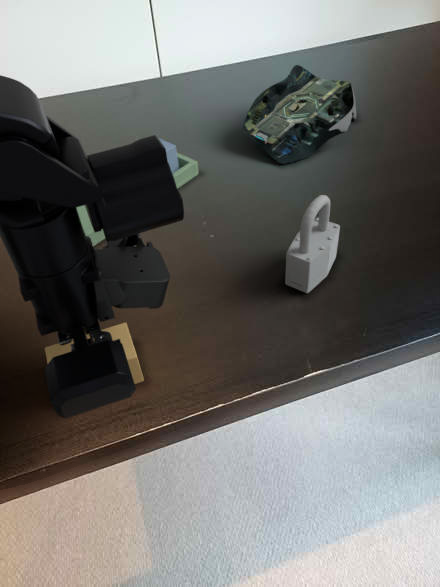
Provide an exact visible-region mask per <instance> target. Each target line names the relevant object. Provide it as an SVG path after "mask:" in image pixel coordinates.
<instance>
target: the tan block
mask: <svg viewBox="0 0 440 587" xmlns="http://www.w3.org/2000/svg"><path fill="white" fill-rule="evenodd" d="M101 330H102V331H107V332H109V333H110V334H111V336H112V339H113V341H114V340H117V339H120V341H121V343H122V345H123V348H124V351H125V354H126V357H127V361H128V364H129V367H130V370H131V374H132V377H133V380H134V383H135V385H137V384H140V383H143V382H145V378H144V376H143V372H142V367H141V365H140V362H139V358H138V355H137V352H136V348H135V345H134V343H133V342H134V341H133V339H132V336H131V333H130V330H129V326H128V323H127V322H123V323H119V324H116V325H113V326H109V327H106V328H102V329H101ZM89 338H90V336H89V334H87V339H89ZM93 339H94V338H93ZM71 340H72V342H70V343H69V344H66V345H60V344H59V342H58V343H55V344H51V345H48V346H45V347H44V351H45V357H46V363H47V364H48V363H49V362H50V361H51V359H52V358H53V357H55V356H58V355H62V354H65V353H68V352H71V344H73V343H74V341H73V339H71ZM47 364H46V365H47Z"/></svg>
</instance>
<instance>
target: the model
mask: <svg viewBox="0 0 440 587" xmlns="http://www.w3.org/2000/svg"><path fill="white" fill-rule="evenodd" d="M352 119H353V120H357V106H356V96H355V92H354V89H353V86H352V82H351V81H348V80H340V79H325V78H321V77H318V76H316V75H315V74H313V73H312V72H310V71H309V70H307V69H306V68H305V67H303V66H301V65H299V64H295V65H294V66H293V67H292V69H291V70H290V72H289V74H288V75H287V76H286V78H284V79H283V80H281V81H278V82H277V83H275V84H272V85H271V86H269V87H268V88H266V89H265V90H263V91H262V92H261V93H260V94H259V95H258V96H257V97H256V98H255V99H254V101H253V102H252V104H251V105H250V108H249V110H248V111H247V114H246V117H245V118H244V122H243V128H242V133H243V134H244V135H246V136H247V137H249V139H251V140H252V141H254V143H255V144H256V145H258V146H259V148H263V149H264V151H266V152H267V154H268V155H269V156H270V157H271V158H272V159H274V160H275V161H276V162H277V163H279V164H283V165H286V164H289V163H294V162H295V161H299V160H304V159H306V158H309V157H311V156H312V155H313V154H315V153H316V152H317V151H318V150H319V149H320V148H321V147H322V146H323V145H324V144H325V143H327V142H328V141H329V140H331V139H333V138H335V137H337V136H339V135H341V134H343V133H347V132H348V130H349V127H350V125H351V122H352Z"/></svg>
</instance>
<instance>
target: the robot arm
mask: <svg viewBox="0 0 440 587" xmlns="http://www.w3.org/2000/svg"><path fill="white" fill-rule="evenodd" d="M83 205H85V207H86V210H87V213H88V216H89V219H90V222H91V225H92V227H93V230H94V232H95V233H96V232H99V231H102V230H101V229H103V232H104V235H105V241H106V245H104V246H103V247H102V248H97V249H95V248H94V246H93V245H92V241H91V238H90V237H88V236H86V235H85V233H84V230H83V226H82V223H81V220H80V217H79V214H78V211H77V208H76V207H80V206H83ZM184 209H185V208H184V201H183V197H182V195H181V193H180V191H179V190H178V189H177V186H176V183H175V179H174V176H173V173H172V171H171V168H170V166H169V163H168V161H167V154H166V149H165V147H164V146H163V144H162V143H161V141H160V140H159V137H158V136H157V135H156V134H153V135H150V136H146V137H143V138H139V139H138V140H135V141H133V142H131V143H129V144H126V145H122V146H118V147H114V148H110V149H107V150H103V151H98V152H95V153H91V154H86V152H85V149H84V147H83V145H82V143H81V140H80V138H79V137H77V136H76V135H74V134H73V133H72V132H70V131H69V130H67V129H66V128H65V127H63V126H62V125H60V124H59V123H58V122H56V121H55V120H53V119H51V117H49V116H48V115H47V114H46V112H45V110H44V106H43V105H42V102H41V101H40V99H39V97H38V96H37V94H36V93H35V92H34V91H33V90H32V89H31V88H30V87H29V86H27V85H25V84H24V83H23V82H21V81H19V80H17V79H14V78H11V77H9V76H8V77H7V76H4V75H1V74H0V239H1V241H2V244H3V246H4V248H5V250H6V251H7V254H8V256H9V258H10V260H11V262H12V264H13V266H14V269H15V271H16V273H17V278H18V282H19V283H18V284H19V291H20V295H21V297H22V299H23V301H24V303H25V302H29V301H30V303H31V305H32V307H33V309H34V313H35V320H36V325H37V330H38V332H39V334H40V336H41V337H43V336H47V335H49V334H54V333H56V337H57V341H58V343H59V344H60V345H66V344H69V343H70V342H72V340H71V339H73V341H74V343H73V344H71V352H68V353H65V354H62V355H58V356H55V357H53V358H52V359H51V361H50V362H49V363H48V364H46V366H45V367H44V372H45V378H46V384H47V389H48V394H49V395H48V396H49V402H50V404H51V407H52V408H53V409H54V411H55V413H56V415H57V416H58V417H61V418H63V419H65V420H67V419H70V418H73V417H75V416H78V415H79V416H80V415H82V414H84V413H87V412H90V411H93V410H96V409H99V408H102V407H105V406H108V405H111V404H113V403H117V402H120V401H123V400H125V399H128V398H131V397H132V396H133V395H134V393H135V391H136V390H137V387H136V384H135V383H134V380H133V377H132V374H131V370H130V367H129V364H128V361H127V357H126V354H125V351H124V348H123V345H122V343H121V341H120V339H117V340H114V341H113V339H112V336H111V334H110V333H109V332H107V331H102V330H103V329H101V328H102V327H101V325H100V323H103V322H106V321H110V320H113V319H116V315H115V312H114V309H113V307H114V308H116V309H120V310H121V309H140V308H141V309H143V308H145V309H146V308H147V309H150V310H155V309H160V308H161V307H162V306H163V304H164V301H165V298H166V293H167V290H168V286H169V283H170V278H171V274H170V271H169V269H168V266H167V264H166V262H165V260H164V258H163V255H162V253H161V251H160V250H159V249H158V248H155V247H154V245H153V242H152V241H147V242H146V244H145V243H144V241H143V239H142V236H141V234H142V233H145V232H148V231H152V230H156V229H159V228H162V227H166V226H169V225H171V224H172V225H173V224H176V223H178V222H182V221H183V220H184V218H185V210H184ZM87 334H89V336H90V338H89V339H87ZM93 338H94V339H93Z"/></svg>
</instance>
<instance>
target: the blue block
mask: <svg viewBox="0 0 440 587" xmlns="http://www.w3.org/2000/svg"><path fill="white" fill-rule="evenodd" d="M158 138H159V137H158ZM159 140H160V141H161V143H162V144H163V146H164V147H165V149H166V154H167V161H168V163H169V166H170V168H171V171H172V173H174V172H176V171H177V170H179V165H178V158H177V153H178V151H177V150H178V149H177V145H175V144H173V143H171V142H170V141H169V142H168V141H166V140H164V139H162V138H159Z"/></svg>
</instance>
